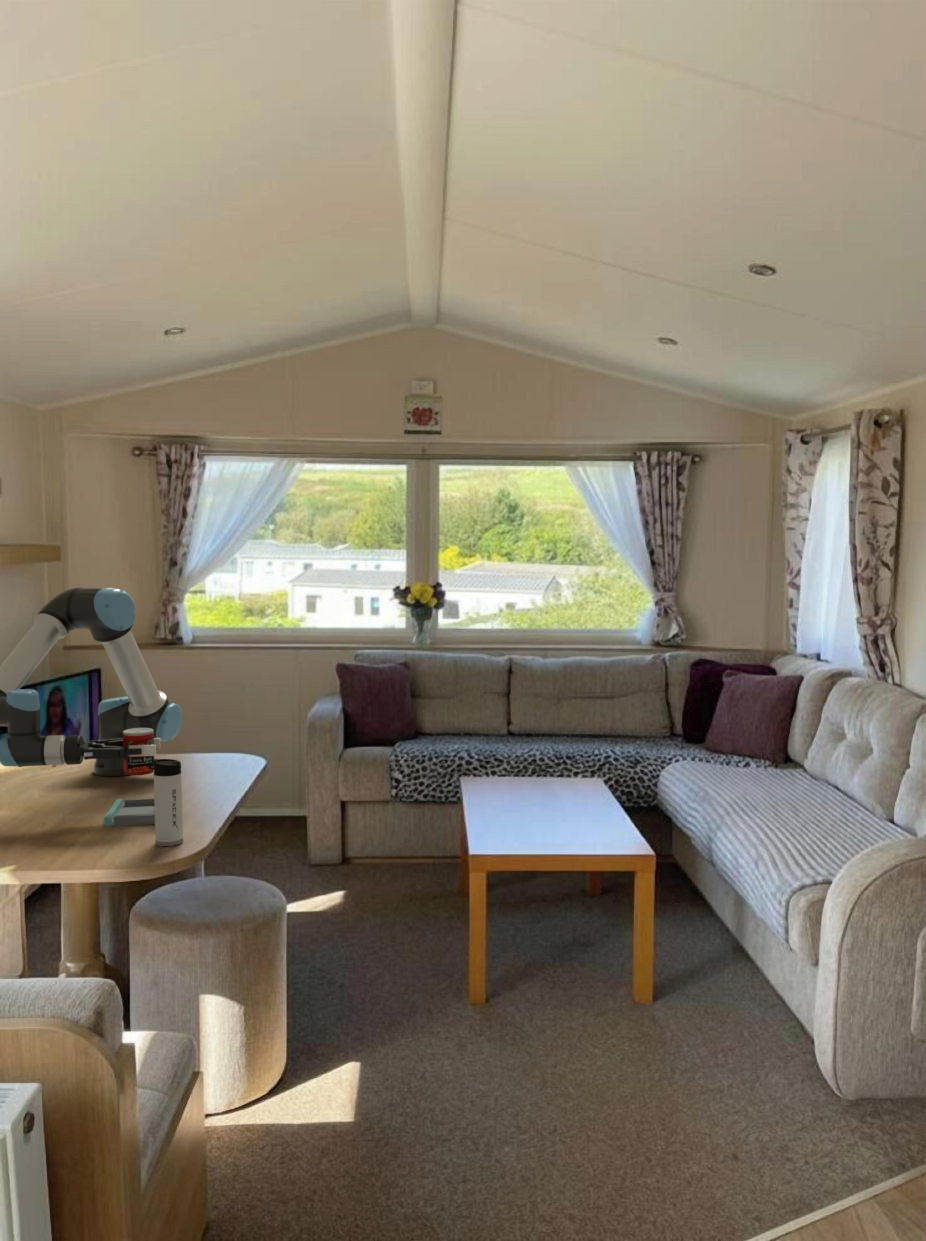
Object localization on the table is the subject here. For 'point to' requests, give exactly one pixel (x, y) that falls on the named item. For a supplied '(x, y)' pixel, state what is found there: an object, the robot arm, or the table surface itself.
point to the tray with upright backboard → (131, 812)
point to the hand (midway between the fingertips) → (157, 746)
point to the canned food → (138, 763)
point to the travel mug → (168, 802)
